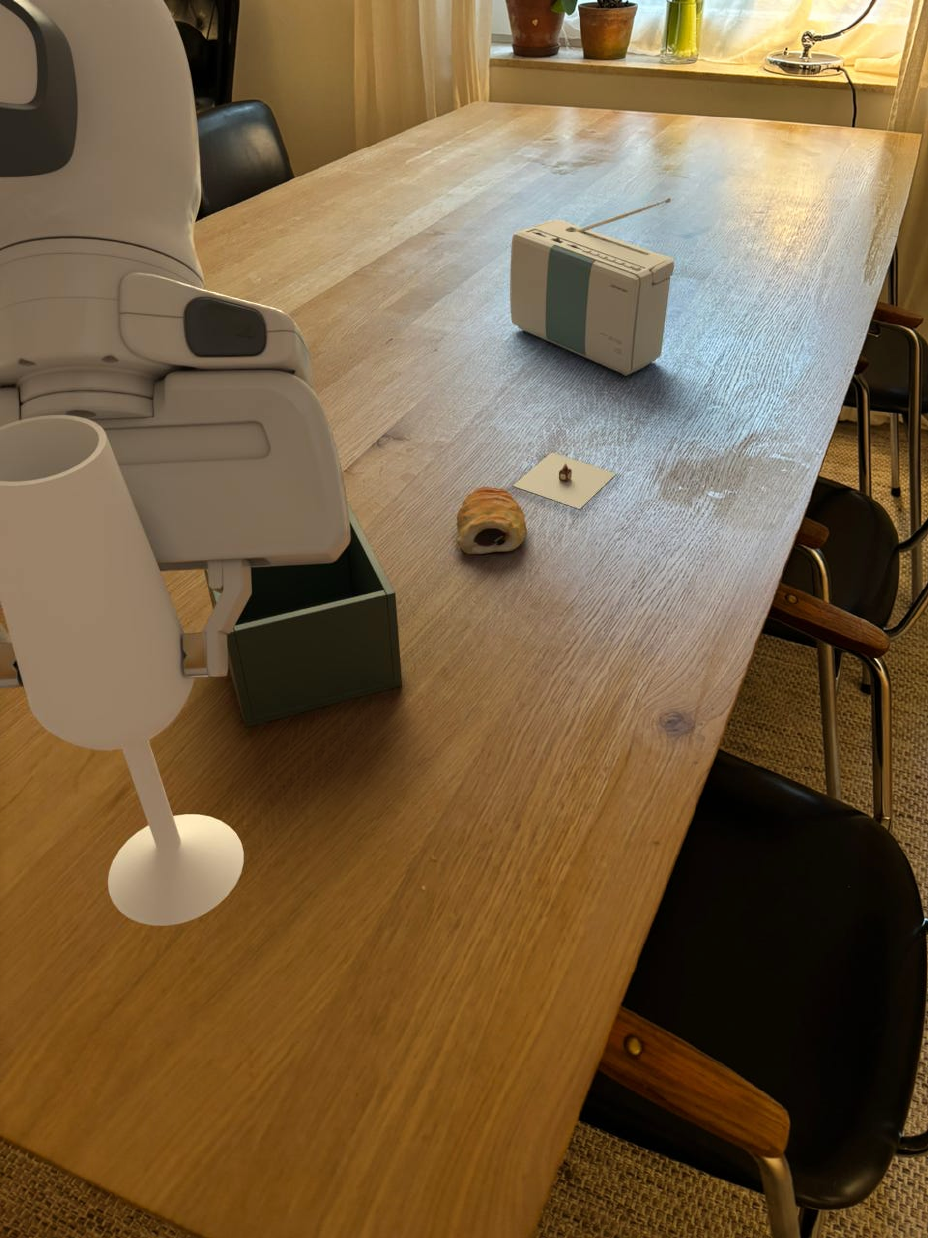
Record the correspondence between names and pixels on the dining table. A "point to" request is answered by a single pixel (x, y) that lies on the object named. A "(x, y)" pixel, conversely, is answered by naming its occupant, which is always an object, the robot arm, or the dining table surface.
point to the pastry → (490, 522)
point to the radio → (590, 292)
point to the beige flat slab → (565, 480)
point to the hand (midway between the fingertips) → (108, 682)
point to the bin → (314, 634)
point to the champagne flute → (103, 649)
